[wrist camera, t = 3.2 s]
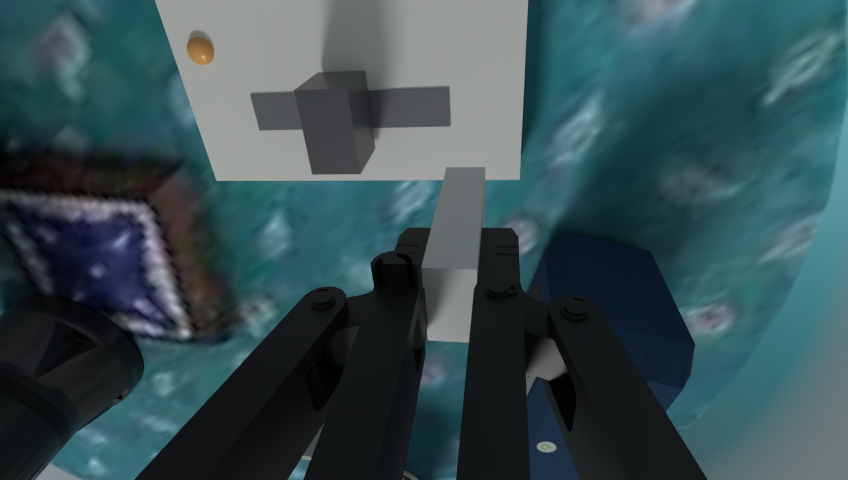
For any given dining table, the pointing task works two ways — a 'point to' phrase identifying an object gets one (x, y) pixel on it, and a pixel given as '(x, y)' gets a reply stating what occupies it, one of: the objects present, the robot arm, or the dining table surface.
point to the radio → (629, 317)
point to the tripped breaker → (336, 122)
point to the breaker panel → (385, 74)
